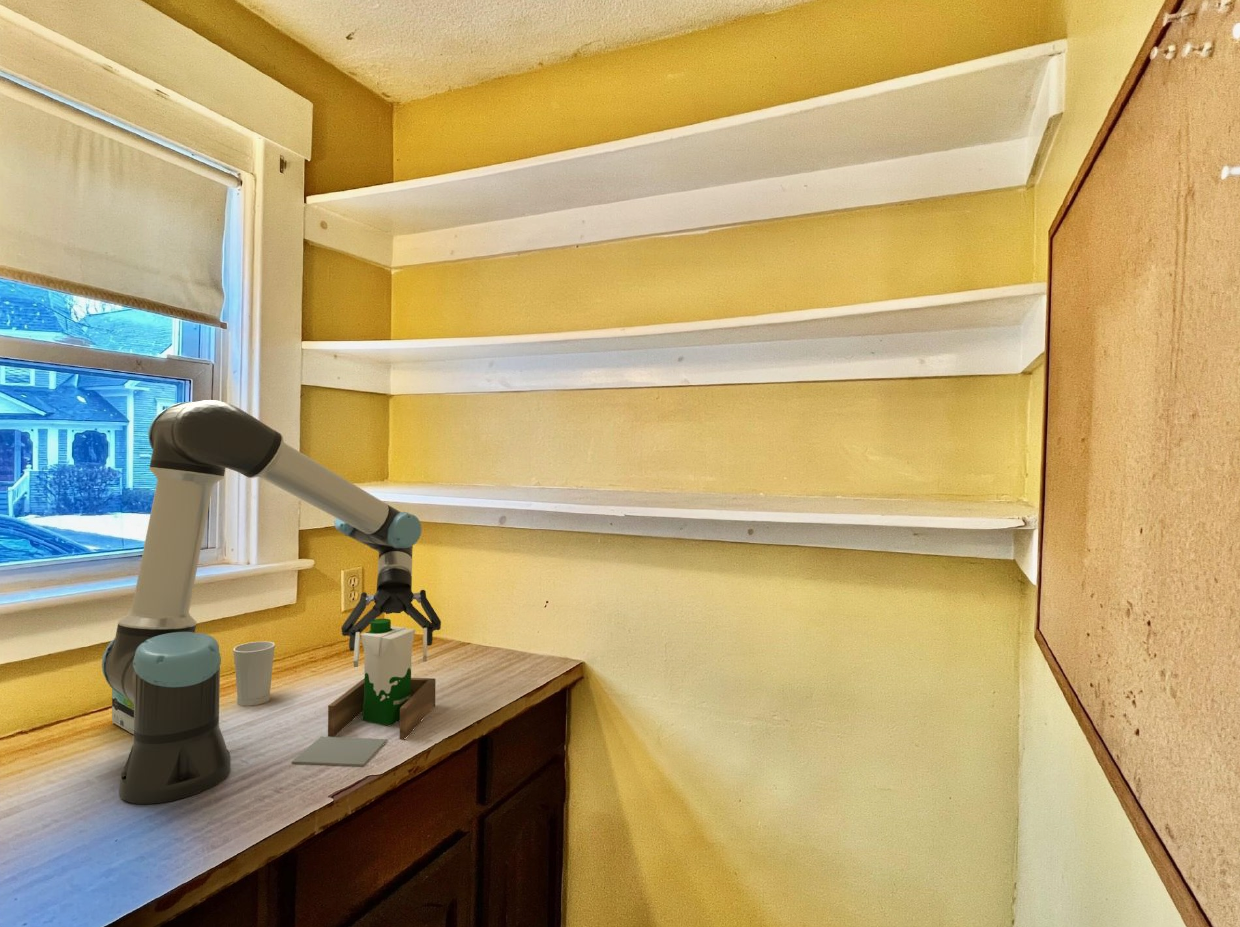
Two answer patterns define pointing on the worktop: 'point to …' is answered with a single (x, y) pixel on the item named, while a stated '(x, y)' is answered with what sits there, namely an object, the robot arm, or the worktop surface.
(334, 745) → the mat
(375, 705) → the soya milk
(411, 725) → the wooden tray
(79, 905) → the worktop surface
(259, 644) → the cup
